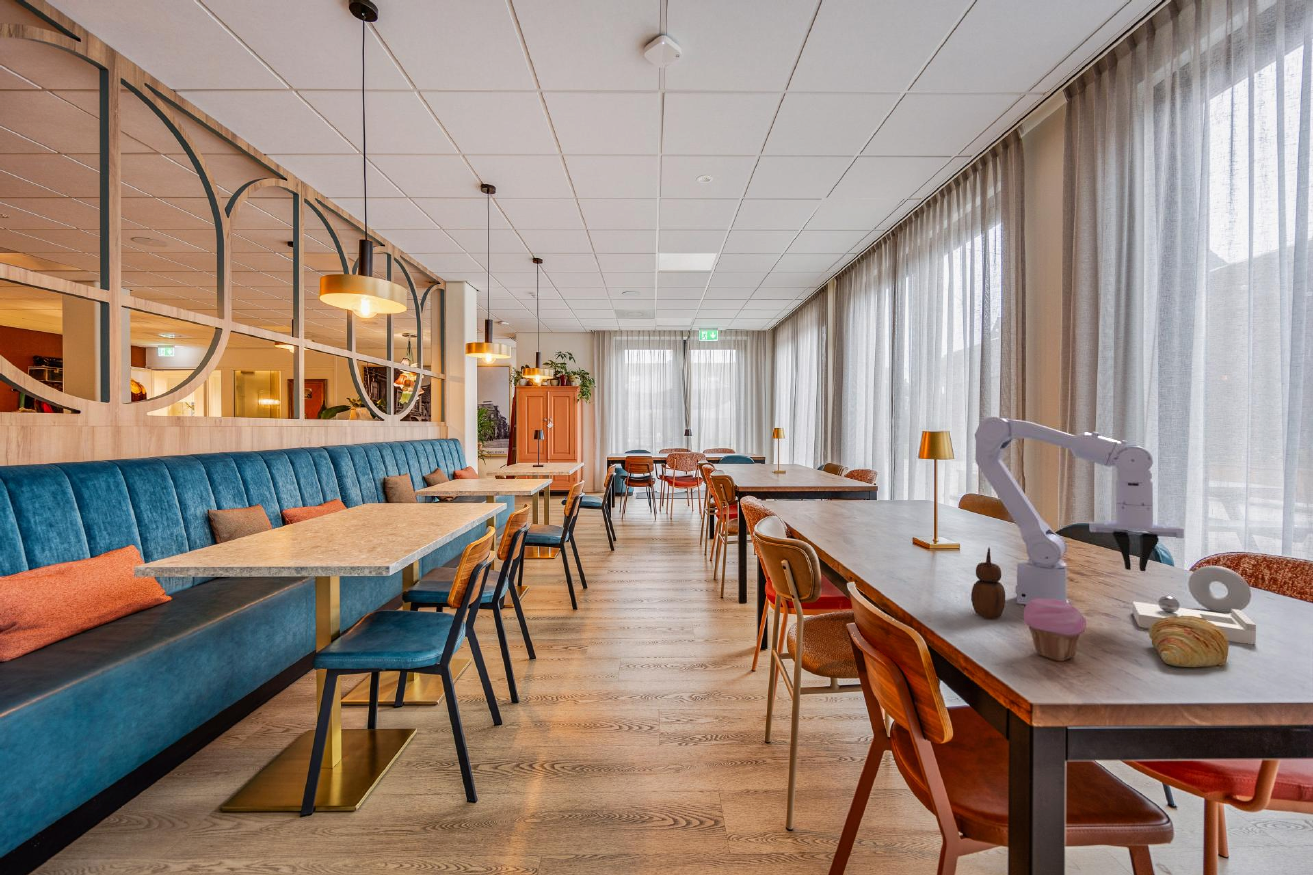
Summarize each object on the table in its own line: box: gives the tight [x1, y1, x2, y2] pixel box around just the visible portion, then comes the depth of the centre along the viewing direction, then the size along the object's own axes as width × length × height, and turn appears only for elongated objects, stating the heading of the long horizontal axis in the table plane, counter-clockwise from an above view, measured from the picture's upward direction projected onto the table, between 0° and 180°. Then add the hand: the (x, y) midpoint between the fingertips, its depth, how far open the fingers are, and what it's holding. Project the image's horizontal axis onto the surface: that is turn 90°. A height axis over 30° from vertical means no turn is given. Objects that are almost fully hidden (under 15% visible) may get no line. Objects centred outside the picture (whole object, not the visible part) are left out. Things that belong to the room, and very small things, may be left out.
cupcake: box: [1023, 598, 1087, 662], centre depth 95 cm, size 9×9×10 cm
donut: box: [1187, 565, 1252, 615], centre depth 117 cm, size 10×4×10 cm, turn 20°
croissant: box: [1148, 616, 1230, 668], centre depth 95 cm, size 21×10×8 cm, turn 125°
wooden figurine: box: [970, 546, 1006, 620], centre depth 115 cm, size 7×6×15 cm
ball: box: [1157, 595, 1181, 613], centre depth 110 cm, size 3×3×3 cm
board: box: [1132, 601, 1257, 646], centre depth 108 cm, size 16×10×4 cm, turn 54°
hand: (1135, 569), depth 113 cm, fingers closed
